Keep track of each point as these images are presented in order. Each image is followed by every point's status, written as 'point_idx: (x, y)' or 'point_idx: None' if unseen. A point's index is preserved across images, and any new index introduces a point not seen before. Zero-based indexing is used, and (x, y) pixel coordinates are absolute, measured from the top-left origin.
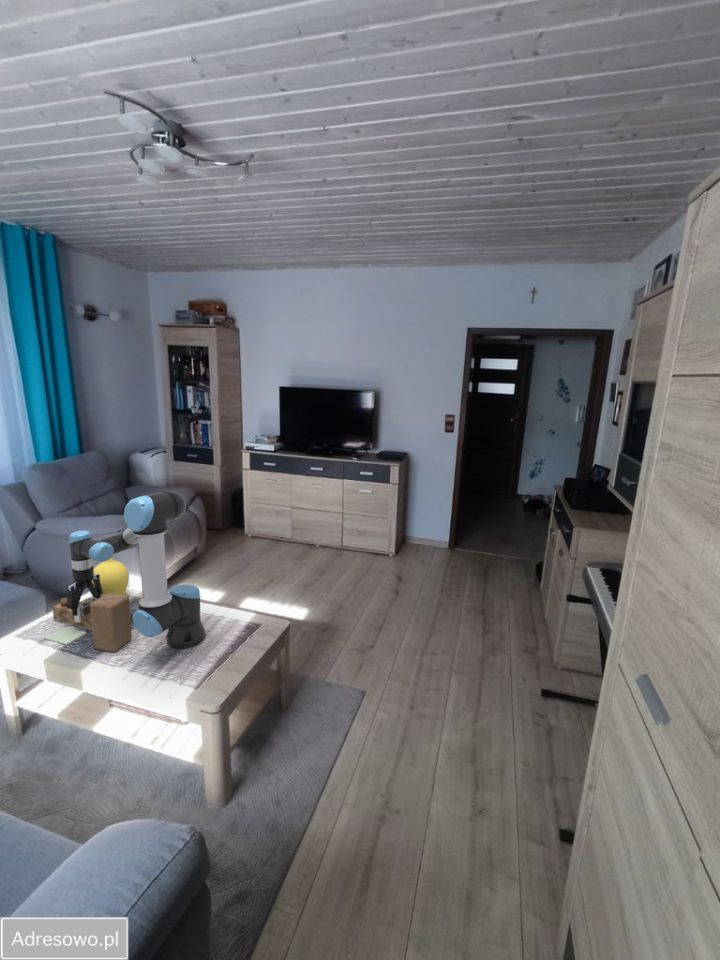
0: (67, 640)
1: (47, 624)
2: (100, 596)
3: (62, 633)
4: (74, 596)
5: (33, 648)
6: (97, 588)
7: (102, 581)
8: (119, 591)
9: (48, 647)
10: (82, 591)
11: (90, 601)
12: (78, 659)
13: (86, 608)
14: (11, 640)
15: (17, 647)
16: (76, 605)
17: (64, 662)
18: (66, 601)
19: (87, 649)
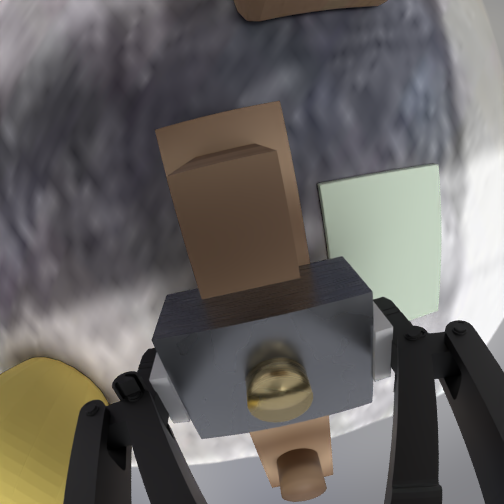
0: (418, 194)
1: None
2: (118, 381)
3: (386, 285)
4: (500, 427)
5: (485, 266)
6: (112, 477)
7: (54, 500)
8: (4, 385)
9: (468, 222)
10: (407, 495)
11: (227, 380)
12: (453, 12)
13: (325, 293)
14: None
15: (488, 317)
16: (423, 349)
17: (488, 51)
18: (304, 474)
19: (399, 32)
